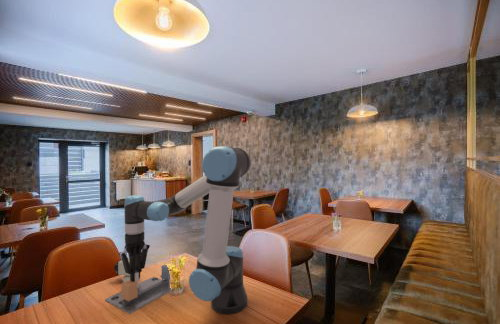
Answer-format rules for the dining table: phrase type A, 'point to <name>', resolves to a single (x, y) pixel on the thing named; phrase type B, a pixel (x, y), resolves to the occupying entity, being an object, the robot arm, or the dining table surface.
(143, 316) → the dining table surface
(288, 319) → the dining table surface
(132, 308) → the bolt plate
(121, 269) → the pneumatic valve
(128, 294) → the tan rectangular block
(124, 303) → the beam with fixed leg
